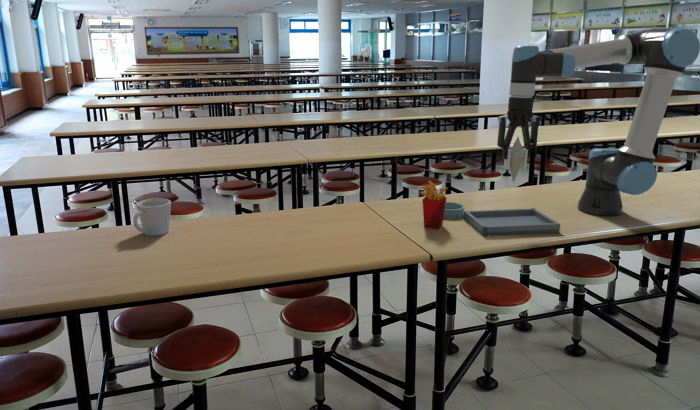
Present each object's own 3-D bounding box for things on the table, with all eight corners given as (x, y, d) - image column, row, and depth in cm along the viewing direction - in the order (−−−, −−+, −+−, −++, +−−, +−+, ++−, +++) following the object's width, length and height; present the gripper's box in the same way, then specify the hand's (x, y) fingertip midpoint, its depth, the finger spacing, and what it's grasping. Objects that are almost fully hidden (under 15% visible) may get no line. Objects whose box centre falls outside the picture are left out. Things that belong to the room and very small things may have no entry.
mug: (180, 229, 180) (177, 199, 178) (150, 244, 167) (147, 212, 164) (153, 225, 184) (150, 196, 181) (122, 240, 170) (118, 208, 167)
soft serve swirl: (522, 183, 179) (526, 137, 175) (506, 182, 180) (510, 136, 176) (520, 179, 184) (525, 134, 179) (505, 179, 184) (509, 134, 180)
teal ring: (457, 209, 205) (458, 201, 204) (468, 217, 195) (468, 209, 194) (430, 210, 203) (430, 202, 202) (439, 218, 193) (439, 210, 192)
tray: (533, 216, 196) (534, 208, 196) (559, 232, 179) (560, 224, 178) (463, 219, 193) (464, 211, 192) (483, 236, 175) (483, 227, 175)
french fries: (445, 224, 187) (448, 181, 182) (439, 231, 179) (441, 187, 175) (420, 221, 190) (422, 178, 186) (413, 228, 183) (414, 184, 179)
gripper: (542, 95, 179) (535, 165, 185) (489, 95, 176) (483, 167, 183) (554, 97, 172) (546, 170, 178) (499, 97, 169) (493, 171, 176)
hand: (514, 168), depth 180 cm, fingers closed on soft serve swirl, 5 cm apart
